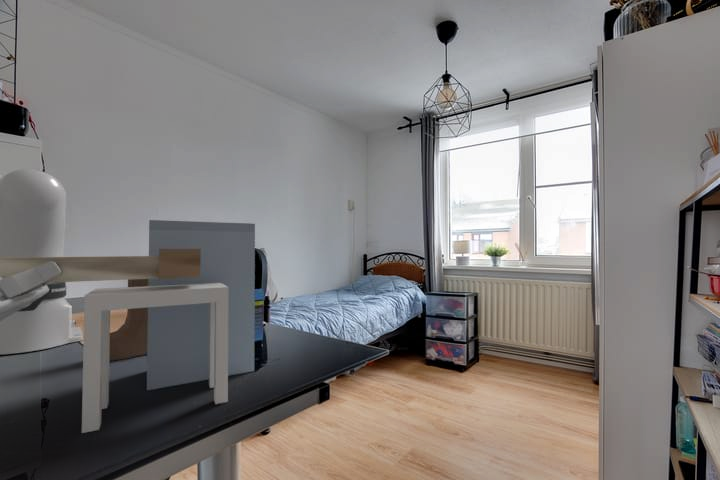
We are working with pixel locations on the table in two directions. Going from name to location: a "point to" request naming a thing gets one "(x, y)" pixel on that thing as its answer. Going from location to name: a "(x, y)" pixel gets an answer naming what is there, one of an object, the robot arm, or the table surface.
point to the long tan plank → (113, 266)
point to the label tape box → (258, 315)
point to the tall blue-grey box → (191, 321)
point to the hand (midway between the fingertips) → (63, 265)
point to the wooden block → (131, 331)
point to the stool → (143, 297)
